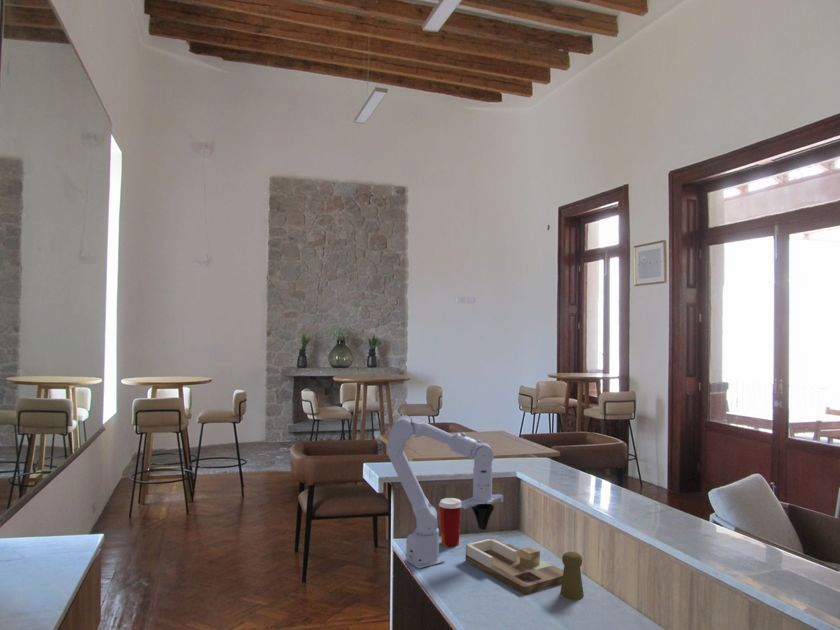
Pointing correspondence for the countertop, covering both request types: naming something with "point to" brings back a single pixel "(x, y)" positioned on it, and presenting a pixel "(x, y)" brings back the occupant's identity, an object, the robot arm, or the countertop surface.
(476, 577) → the countertop surface
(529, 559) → the block
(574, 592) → the cork
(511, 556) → the cubby
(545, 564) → the pad
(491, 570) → the board
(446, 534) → the paper cup
